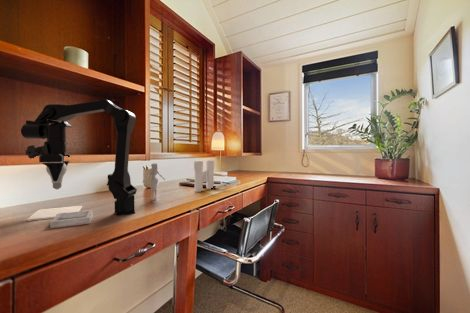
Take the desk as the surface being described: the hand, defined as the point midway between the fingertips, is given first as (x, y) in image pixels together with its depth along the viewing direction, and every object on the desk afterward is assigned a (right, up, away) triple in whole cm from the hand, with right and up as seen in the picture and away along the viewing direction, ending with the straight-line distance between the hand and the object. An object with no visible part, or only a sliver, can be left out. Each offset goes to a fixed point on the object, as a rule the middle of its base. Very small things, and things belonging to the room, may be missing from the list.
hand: (57, 180), depth 84 cm
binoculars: (+49, -12, +53) cm, 73 cm away
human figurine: (+28, -13, +23) cm, 39 cm away
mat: (0, -13, 0) cm, 13 cm away
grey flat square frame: (+13, -13, -9) cm, 20 cm away
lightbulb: (0, -4, 0) cm, 4 cm away
